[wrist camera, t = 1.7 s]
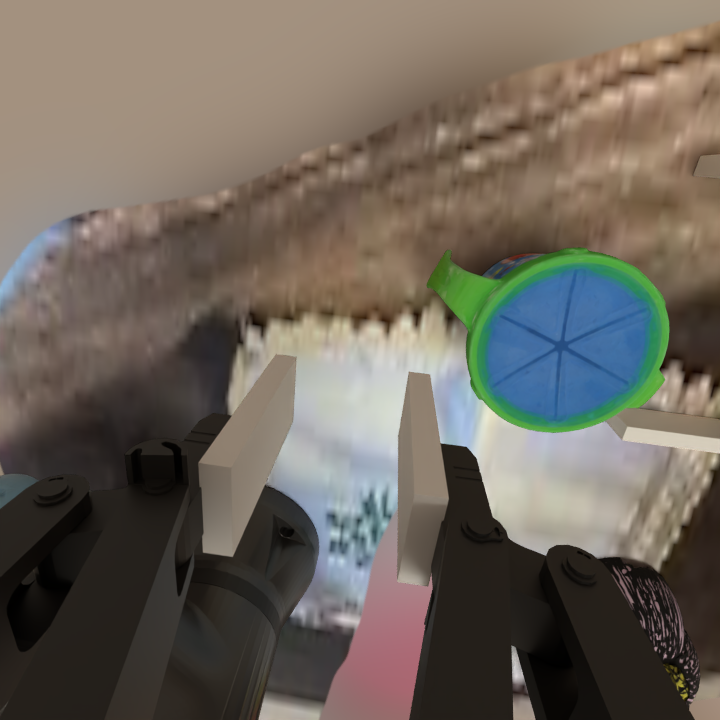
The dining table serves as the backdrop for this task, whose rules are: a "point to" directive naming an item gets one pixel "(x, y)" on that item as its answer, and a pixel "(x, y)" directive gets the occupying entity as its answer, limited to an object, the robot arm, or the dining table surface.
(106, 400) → the dining table surface
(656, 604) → the decorative flower
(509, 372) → the snack cup
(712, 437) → the fence
